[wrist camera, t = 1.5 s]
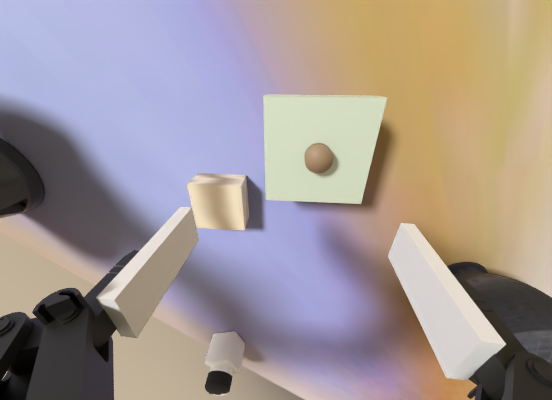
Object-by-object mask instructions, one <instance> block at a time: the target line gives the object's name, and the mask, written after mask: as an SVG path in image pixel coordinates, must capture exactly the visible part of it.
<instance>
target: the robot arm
mask: <svg viewBox="0 0 552 400" xmlns="http://www.w3.org/2000/svg"><path fill="white" fill-rule="evenodd" d="M43 197H44V189H43V185H42V182H41V180H40V178H39V176H38V174H37V172H36V171H35V170H34V168H33V167H32V166H31V164H30V163H29V162H28V161H27V160H26V159H25V158H24V157H23V156H22V155H21V154H20V153H19V152H18V151H16V150H15V149H14V148H13V147H11V146H10V145H9V144H7V143H6V142H4V141H2V140H1V139H0V218H3V217H8V216H12V215H17V214H21V213H24V212H26V211H28V210H30V209H32V208H34V207H36V206H38V205H39V204H40V203H41V202H42V200H43ZM198 241H199V239H198V234H197V230H196V225H195V221H194V216H193V211H192V208H188V207H180V208H179V209H178V210H177V211H176V212H175V213H174V214H173V216H172V217H171V218H170V219H169V220H168V221H167V222H166V223H165V224H164V225H163V226H162V227H161V228H160V230H159V231H158V232H157V233H156V234H155V235H154V236H153V237H152V238H151V239H150V240H149V241H148V242H147V243H146V245H145V246H144V247H143V248H142V249H141V250H140V251H135V250H134V251H132V252H131V253H129V254H128V255H126V256H125V257H123V258H122V259H121V260H120V261H119V262H118V263H117V264H116V266H115V267H113V268H112V269H111V270H110V271H109V274H106V275H105V277H104V278H103V279H102V280H101V281H100V282H99V283H98V284H97V285H96V286H95V287H94V288H93V289H92V290H91V291H90V292H89V293H88V294H87V295H86V296H85V297H83V296H82V294H81V293H80V292H79V290H77V289H75V288H66V289H62V290H59V291H57V292H54V293H52V294H50V295H49V296H47V297H46V298H44V299H43V300H42V301H41V302H40V303H39V304H38V305H36V307H35V308H34V310H33V314H34V315H35V316H36V317H37V318H33V319H30V318H29V317H28V316H27V315H26V314H25V313H22V312H15V313H11V314H8V315H5V316H2V317H1V318H0V400H114V386H113V385H114V383H113V382H114V379H113V340H112V337H111V335H112V334H113V333H114V331H115V330H116V329H117V330H118V332H119V334H120V335H121V336H125V337H133V338H137V337H138V336H139V334H140V332H141V331H142V329H143V328H144V326H145V325H146V323H147V321H148V320H149V318H150V317H151V315H152V314H153V312H154V310H155V309H156V307H157V306H158V304H159V302H160V301H161V299H162V298H163V296H164V294H165V293H166V291H167V290H168V288H169V287H170V285H171V283H172V282H173V280H174V279H175V277H176V275H177V274H178V272H179V271H180V269H181V268H182V266H183V264H184V263H185V261H186V260H187V258H188V256H189V255H190V253H191V252H192V250H193V248H194V247H195V245H196V244H197V242H198ZM388 258H389V260H390V262H391V264H392V266H393V268H394V270H395V272H396V274H397V276H398V278H399V280H400V283H401V285H402V287H403V289H404V291H405V293H406V295H407V297H408V299H409V301H410V303H411V305H412V308H413V310H414V312H415V314H416V316H417V318H418V320H419V322H420V324H421V326H422V328H423V330H424V332H425V335H426V337H427V339H428V341H429V343H430V345H431V347H432V349H433V351H434V353H435V355H436V357H437V360H438V362H439V364H440V366H441V368H442V370H443V372H444V374H445V376H446V378H453V379H460V380H468V379H469V378H470V377H471V376H472V375H473V374H474V373H475V375H476V377H477V378H478V380H479V382H480V384H479V385H478V386H476V387H475V388H474V389H473V390H472V391H470V392H469V394H468V396H467V397H469V398H470V399H471V398H473V397H474V396H475V395H476V396H475V400H552V364H550V363H549V362H547V361H546V360H544V359H543V358H541V357H539V356H537V355H535V354H532V353H529V352H528V351H527V350H526V349H525V348H524V347H523V345H522V344H521V343H520V342H519V341H518V339H517V338H516V337H515V336H514V335H513V333H512V332H511V331H510V330H509V328H508V327H507V326H506V325H505V324H504V322H503V321H502V320H501V319H500V318H499V316H498V315H497V314H496V313H494V312H493V311H494V310H493V309H492V308H491V307H490V305H489V304H488V303H486V300H485V299H484V298H483V297H482V296H481V294H480V293H479V292H478V291H477V290H476V289H475V288H474V287H472V286H471V285H470V284H469V283H467V282H466V281H465V280H457V279H456V278H455V277H454V275H453V274H452V273H451V271H450V270H449V269H448V268H447V266H446V265H445V264H444V262H443V261H442V260H441V258H440V257H439V256H438V254H437V253H436V252H435V251H434V249H433V248H432V247H431V245H430V244H429V243H428V241H427V240H426V239H425V238H424V236H423V235H422V234H421V232H420V231H419V230H418V228H417V227H416V226H415V224H408V223H401V224H400V226H399V229H398V232H397V234H396V237H395V239H394V242H393V244H392V247H391V249H390V252H389V255H388ZM7 371H8V372H7ZM6 372H7V374H6V376H5V377H4V375H5V373H6ZM3 377H4V378H3ZM2 378H3V380H2ZM1 380H2V381H1Z"/></svg>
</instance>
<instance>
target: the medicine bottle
mask: <svg viewBox="0 0 552 400" xmlns="http://www.w3.org/2000/svg"><path fill="white" fill-rule="evenodd" d="M244 348H245V343H244V342H243V341H242V339H241V338H240V337H239V335H238V334H237V333H236V331H231V332H223V333H215V334H213V336H212V339H211V342H210V346H209V349H208V352H207V355H206V359H205V364H206V365H207V366H208V367H210V370H209V373H208V377H207V381H206V384H205V389H206V391H207V392H209V393H210V394H212V395H217V396H223V395H226V394H227V393H228V392H229V391H230V386H231V381H232V377H233V374H234V373H240V370H241V365H242V359H243V354H244Z"/></svg>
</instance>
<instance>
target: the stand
mask: <svg viewBox="0 0 552 400" xmlns="http://www.w3.org/2000/svg"><path fill="white" fill-rule="evenodd" d="M187 187H188V191H189V195H190V200H191V204H192V208H193V213H194V217H195V221H196V225H197V228H210V229H230V230H245V228H246V225H247V222H248V219H249V206H248V192H247V178H246V175H226V174H197V175H196V176H195V177H194V178H193V179H192V180H191V181H190V182H189V183H188V184H187Z"/></svg>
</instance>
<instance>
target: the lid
mask: <svg viewBox="0 0 552 400" xmlns="http://www.w3.org/2000/svg"><path fill="white" fill-rule="evenodd" d="M263 99H264V144H265V188H266V200H279V201H303V202H327V203H351V204H361V202H362V198H363V194H364V190H365V186H366V182H367V178H368V174H369V170H370V166H371V161H372V157H373V153H374V149H375V145H376V141H377V137H378V133H379V129H380V125H381V121H382V117H383V113H384V109H385V105H386V101H387V98H386V97H381V96H357V95H273V94H266V95H265V96H263Z"/></svg>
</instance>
